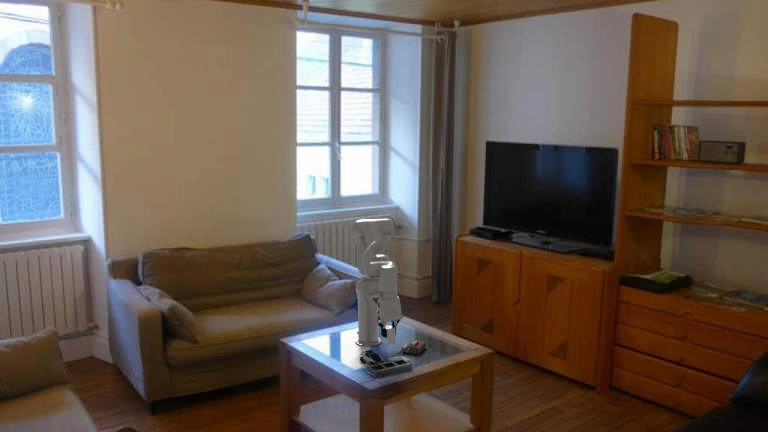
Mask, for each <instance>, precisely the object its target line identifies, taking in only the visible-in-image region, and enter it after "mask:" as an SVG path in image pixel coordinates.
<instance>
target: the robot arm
mask: <svg viewBox="0 0 768 432" xmlns="http://www.w3.org/2000/svg"><path fill="white" fill-rule="evenodd" d="M395 232H396V228H395V224H394V222H393V220H392V219H390V218H373V219H372V218H369V219H365V218H363V219H358V220H355V221H353V222H352V224H351V235H352V239H353V241H354V243H355V246H356V259H357V269H358V273H359V275H361V276H365V278H360V279H359V280H357V281H356V283H355V292H356V295H357V296H356V297H357V314H358V315H357V317H358V318H357V319H358V320H357V321H358V324H357V325H358V328H357V329H358V331H357V332H356V334H357V336H358V337H357V338H359V339H358V341H357V342H358V343H359V344H362V345H367V346H366V347H372V346H373V347H374V346H377V345H380V344H382V338H380V337H379V327H380V335H381V337H384V338H386V328H385V327H386V326H387V323H391V324H390V325H391V326H393V327H395V337H396V336H397V326H398V325H399V323H400V321H402V319H403V318H404V316H403V315H402V306H401V300H400V297H399V296H398V267H397V264H396V263H395V261H392V260H391V259H390V257H389V256H388V255H387V254H381V253H383V252H384V251H385V250H386V248H387V241H386V238H387V237H388V238H390V237H393V236H394V235H395ZM375 298H376V299H377V298H378V299H377V302H375V300H374V299H375ZM362 345H361V346H362Z"/></svg>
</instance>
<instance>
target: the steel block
mask: <svg viewBox="0 0 768 432" xmlns="http://www.w3.org/2000/svg"><path fill="white" fill-rule="evenodd" d="M391 325H392V324H389V325H386V327H385V328H386V338H384V337H382V336H381V337H382V338H381V344H384V345H386V346H389V345H390V346H391V345H394V344H396V336H395V327H393V326H391Z"/></svg>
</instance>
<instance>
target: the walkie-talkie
mask: <svg viewBox="0 0 768 432" xmlns="http://www.w3.org/2000/svg"><path fill="white" fill-rule="evenodd" d="M400 348H401V349H400V350H399V351H398V352H397V353H396V355H397V356H400V355H401V353H403V352H405V353H407V354H413V355H419V354H420V353H422V351H423V350H425V348H426V341H424V340H421V339H420V340H418V339H415V340H412V341H410V343H409V344H408V343H407V344H404V345H403V346H401V347H400Z"/></svg>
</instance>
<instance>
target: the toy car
mask: <svg viewBox="0 0 768 432" xmlns="http://www.w3.org/2000/svg"><path fill="white" fill-rule="evenodd" d="M359 356H360V357H359V362H360V361H361V363H362V362H363V363H365V362H366V363H368V364H369V366H370V365H375V364H379V363H384V362H385V361H384V359H383V357H381V356H379V354H378V353H377V352H375V351H374V350H371V349H369V350H368V349H367V350H364V351H362V352H360V353H359Z"/></svg>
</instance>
